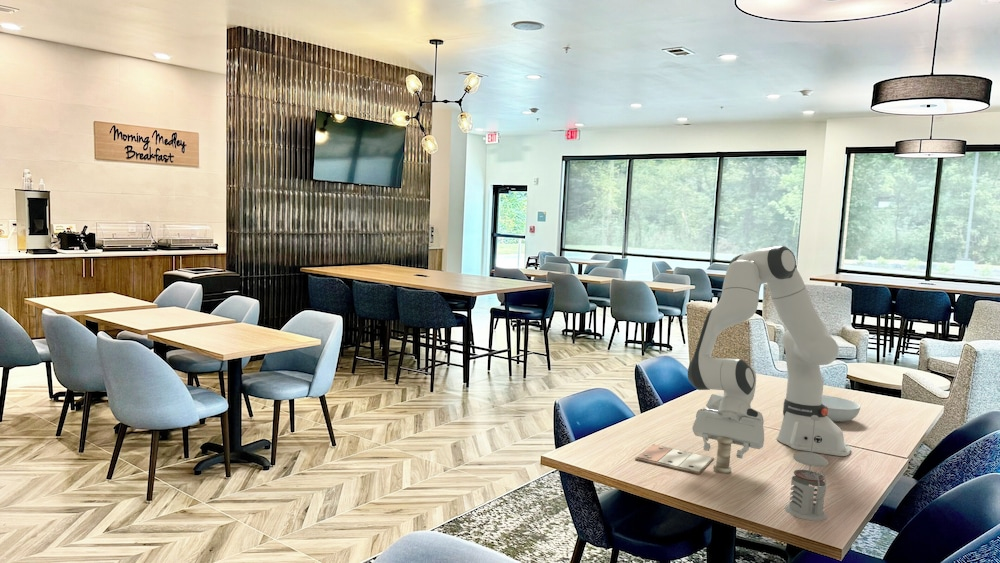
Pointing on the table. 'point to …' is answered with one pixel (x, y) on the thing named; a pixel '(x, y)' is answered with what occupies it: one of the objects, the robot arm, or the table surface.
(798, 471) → the french press
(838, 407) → the serving bowl
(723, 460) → the beige flanged column
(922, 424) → the table surface
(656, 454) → the game board
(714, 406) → the die
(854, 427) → the table surface
